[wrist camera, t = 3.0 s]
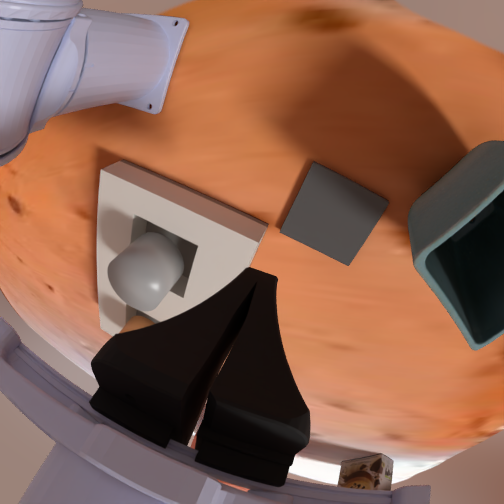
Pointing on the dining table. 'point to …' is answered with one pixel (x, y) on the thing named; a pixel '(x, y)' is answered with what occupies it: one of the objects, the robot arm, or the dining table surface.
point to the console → (174, 228)
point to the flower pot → (465, 242)
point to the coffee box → (367, 473)
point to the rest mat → (333, 214)
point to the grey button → (146, 271)
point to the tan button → (136, 323)
